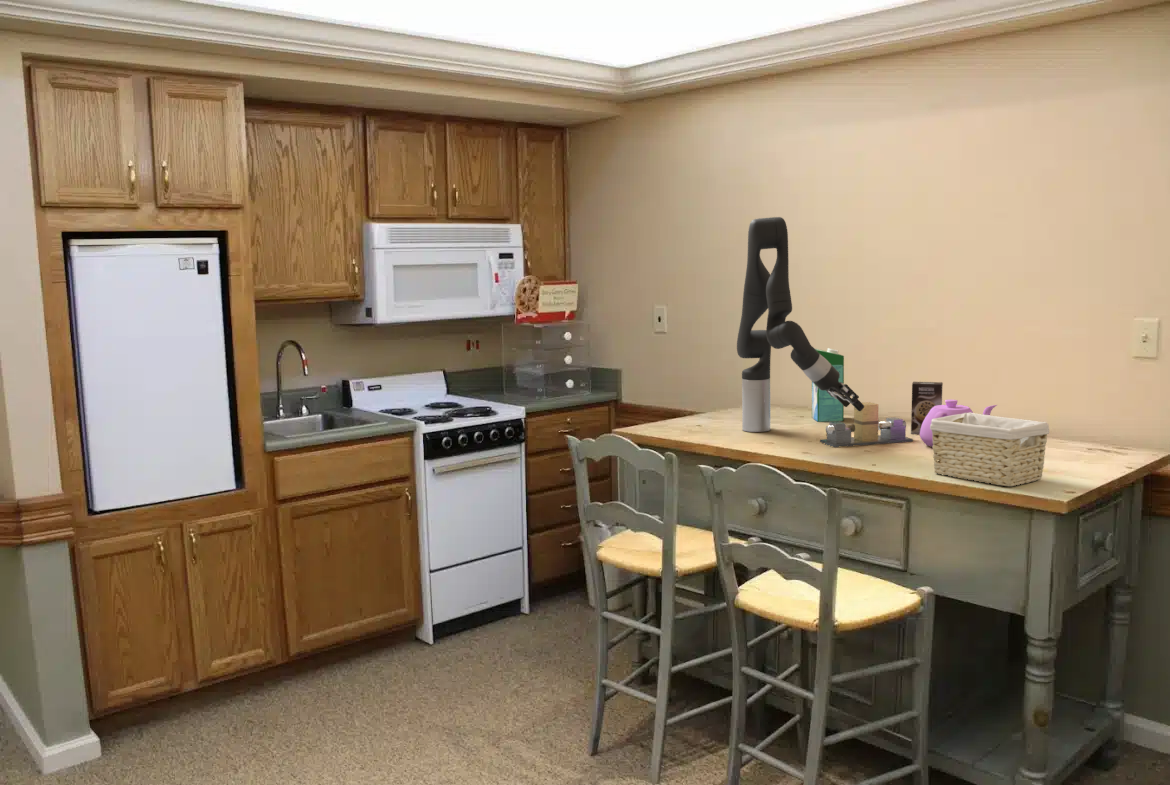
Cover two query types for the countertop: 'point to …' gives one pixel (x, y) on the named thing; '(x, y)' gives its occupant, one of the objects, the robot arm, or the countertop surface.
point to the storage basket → (989, 448)
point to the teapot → (943, 412)
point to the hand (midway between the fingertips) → (854, 406)
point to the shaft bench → (889, 433)
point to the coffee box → (924, 402)
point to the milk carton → (822, 402)
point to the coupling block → (866, 422)
